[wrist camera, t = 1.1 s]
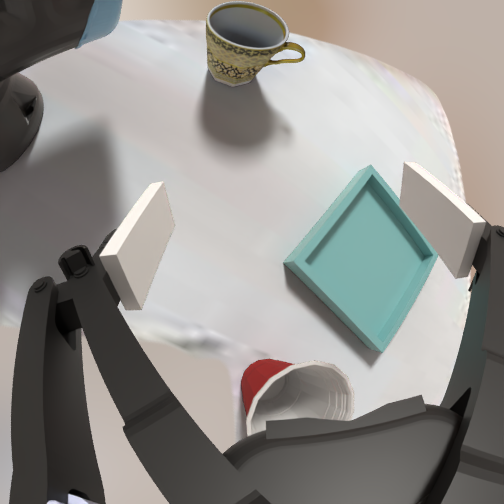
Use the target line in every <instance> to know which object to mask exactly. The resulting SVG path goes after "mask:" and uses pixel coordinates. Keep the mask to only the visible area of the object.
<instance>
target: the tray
mask: <svg viewBox="0 0 504 504" xmlns="http://www.w3.org/2000/svg"><path fill="white" fill-rule="evenodd" d="M399 203H400V200H399V198H398V197H397V196H396V194H395V193H394V192H393V191H392V189H391V188H390V187H389V186H388V184H387V183H386V182H385V181H384V180H383V178H382V177H381V176H380V175H379V174H378V172H377V171H376V170H375V169H374V168H373V167H372V165H369V166H367V167H365V168H364V169H362V170H360V171H359V172H358V173H357V174H356V175H355V177H354V178H353V179H352V180H351V182H350V183H349V184H348V185H347V187H346V188H345V189H344V190H343V191H342V193H341V194H340V195H339V196H338V198H337V199H336V200H335V201H334V203H333V204H332V205H331V206H330V207H329V209H328V210H327V211H326V212H325V214H324V215H323V216H322V217H321V218H320V220H319V221H318V222H317V223H316V224H315V226H314V227H313V228H312V229H311V230H310V232H309V233H308V234H307V235H306V236H305V238H304V239H303V240H302V241H301V242H300V244H299V245H298V246H297V247H296V248H295V249H294V251H293V252H292V253H291V254H290V255H289V257H288V258H287V259H286V260H285V261H284V262H283V263H284V264H285V265H286V266H287V267H288V268H289V269H290V270H291V271H292V272H293V273H294V274H295V275H296V276H297V277H298V278H299V279H300V280H301V281H302V282H303V283H304V284H305V285H306V286H307V287H308V288H309V289H310V290H312V291H313V292H314V293H315V294H316V295H317V296H318V297H319V298H320V299H321V300H322V301H323V302H324V303H325V304H326V305H327V306H328V307H329V308H330V309H331V310H332V311H333V312H334V313H335V314H336V315H337V316H338V317H339V318H340V319H341V320H342V322H343V323H344V324H345V325H346V326H347V327H348V328H349V329H350V330H351V331H352V332H353V333H354V334H355V335H356V336H357V337H358V338H359V339H360V340H361V341H362V342H363V343H364V344H365V345H366V346H367V347H368V348H369V349H371V350H375V351H378V352H381V353H383V352H384V350H385V349H386V347H387V346H388V344H389V343H390V341H391V340H392V338H393V336H394V335H395V333H396V332H397V330H398V329H399V327H400V325H401V324H402V322H403V320H404V319H405V317H406V315H407V314H408V312H409V310H410V309H411V307H412V305H413V303H414V302H415V300H416V298H417V296H418V294H419V293H420V291H421V289H422V287H423V285H424V283H425V281H426V279H427V277H428V276H429V274H430V272H431V270H432V268H433V266H434V264H435V261H436V259H437V257H438V254H437V252H436V251H435V250H434V248H433V247H432V246H431V244H430V243H429V242H428V241H427V239H426V238H425V237H424V235H423V234H422V233H421V232H420V230H419V229H418V228H417V227H416V225H415V224H414V223H413V222H412V221H411V219H410V218H409V217H408V216H407V215H406V213H405V212H404V211H403V210H402V209H401V208H400V206H399Z"/></svg>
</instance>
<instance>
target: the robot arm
mask: <svg viewBox="0 0 504 504" xmlns="http://www.w3.org/2000/svg"><path fill="white" fill-rule="evenodd" d="M121 8H122V0H0V172H2V171H3V170H5V169H6V168H8V167H9V166H10V165H12V164H13V163H14V162H15V161H16V160H17V159H18V158H19V157H20V156H21V155H22V153H23V152H24V151H25V150H26V148H27V147H28V146H29V144H30V143H31V141H32V139H33V138H34V136H35V134H36V132H37V130H38V127H39V125H40V122H41V119H42V114H43V98H42V95H41V93H40V91H39V90H38V88H37V86H36V85H35V83H34V82H33V81H32V80H30V79H29V78H27V77H25V76H23V75H22V74H20V73H18V72H20V71H22V70H24V69H26V68H28V67H30V66H32V65H34V64H36V63H38V62H41V61H43V60H45V59H47V58H50V57H52V56H54V55H57V54H59V53H62V52H64V51H67V50H69V49H72V48H75V49H78V48H80V47H81V46H82V45H83V44H86V43H88V42H91V41H94V40H97V39H99V38H102V37H105V36H107V35H108V34H110V33H111V32H112V31H113V30H114V29H115V27H116V25H117V24H118V21H119V18H120V14H121ZM399 206H400V208H401V209H402V210H403V211H404V212H405V213H406V215H407V216H408V217H409V218H410V219H411V221H412V222H413V223H414V224H415V225H416V227H417V228H418V229H419V230H420V232H421V233H422V234H423V235H424V237H425V238H426V239H427V241H428V242H429V243H430V244H431V246H432V247H433V248H434V250H435V251H436V252H437V254H438V255H439V256H440V258H441V259H442V260H443V262H444V263H445V265H446V266H447V267H448V269H449V270H450V272H451V273H452V274H453V276H454V277H455V279H457V278H463V277H468V275H469V272H470V270H471V267H472V265H473V266H474V268H475V269H476V270H477V271H476V273H475V276H474V278H473V281H472V283H471V285H470V288H469V290H468V291H471V289H472V292H471V298H470V304H469V309H468V314H467V319H466V324H465V328H464V332H463V336H462V341H461V344H460V348H459V352H458V356H457V359H456V363H455V366H454V369H453V372H452V376H451V379H450V382H449V385H448V388H447V390H446V393H445V396H444V398H443V401H442V403H441V404H440V406H436V405H429V404H424V401H423V398H422V395H419V396H415V397H412V398H408V399H404V400H400V401H396V402H392V403H388V404H386V405H384V406H382V407H380V408H378V409H376V410H374V411H372V412H370V413H368V414H365V415H363V416H361V417H359V418H357V419H354V420H351V421H342V420H329V419H318V418H309V417H305V418H296V419H284V420H270V421H266V430H264V431H261V432H257V433H255V434H252V435H250V436H248V437H246V438H244V439H242V440H240V441H239V442H237V443H236V444H234V445H233V446H231V447H230V448H229V449H228V450H227V451H225V452H224V453H223V454H222V453H221V452H220V451H219V450H218V449H217V448H216V447H215V445H214V444H212V442H211V441H210V440H209V438H208V437H207V436H206V435H205V434H204V433H203V431H202V430H201V429H200V428H199V427H198V425H197V424H196V423H195V422H194V420H193V419H192V418H191V416H190V415H189V414H188V413H187V411H186V410H185V409H184V408H183V406H182V405H181V404H180V402H179V401H178V400H177V398H176V397H175V396H174V394H173V393H172V392H171V391H170V389H169V388H168V386H167V385H166V384H165V382H164V381H163V379H162V378H161V376H160V375H159V373H158V372H157V370H156V369H155V367H154V366H153V364H152V363H151V361H150V360H149V359H148V357H147V355H146V354H145V352H144V351H143V349H142V348H141V346H140V344H139V343H138V341H137V340H136V338H135V336H134V335H133V333H132V331H131V330H130V328H129V326H128V325H127V323H126V321H125V319H124V318H123V316H122V314H121V312H120V311H119V309H118V307H117V306H118V304H119V302H120V300H121V302H122V304H123V306H124V308H125V310H142V308H143V305H144V303H145V300H146V297H147V294H148V292H149V289H150V286H151V284H152V281H153V279H154V276H155V273H156V271H157V268H158V266H159V263H160V261H161V258H162V256H163V253H164V251H165V249H166V246H167V244H168V241H169V239H170V237H171V234H172V232H173V230H174V227H175V223H174V219H173V215H172V212H171V208H170V204H169V200H168V197H167V193H166V189H165V185H164V181H163V182H157V183H152V184H150V185H149V187H148V188H147V189H146V190H145V192H144V193H143V194H142V196H141V197H140V198H139V200H138V201H137V202H136V204H135V205H134V206H133V208H132V209H131V210H130V212H129V213H128V215H127V216H126V217H125V219H124V220H123V222H122V223H121V224H120V226H119V227H118V229H115V230H113V231H112V232H111V233H110V234H109V235H107V237H106V238H105V240H104V241H103V244H101V245H100V247H99V249H98V250H97V251H96V253H95V254H94V256H93V257H92V256H91V254H90V252H89V250H88V248H87V247H86V246H85V245H79V246H75V247H73V248H70V249H69V250H67V251H66V252H65V253H64V254H63V255H62V256H61V257H60V259H59V261H58V264H59V266H60V268H61V269H62V271H63V273H64V275H65V277H66V279H67V282H64V283H61V284H58V285H56V284H55V282H54V280H53V279H52V278H51V277H43V278H41V279H38V280H37V281H36V282H34V283H33V285H32V286H31V288H30V289H29V292H28V295H27V300H26V304H25V308H24V313H23V317H22V322H21V328H20V334H19V339H18V345H17V352H16V359H15V367H14V377H13V388H12V406H11V442H12V443H11V444H12V461H13V475H12V482H11V490H10V500H9V504H106V503H105V496H104V489H103V485H102V480H101V475H100V471H99V468H98V463H97V459H96V454H95V450H94V445H93V440H92V434H91V429H90V423H89V416H88V410H87V403H86V395H85V385H84V375H83V362H82V345H81V328H83V331H84V334H85V336H86V339H87V341H88V344H89V347H90V349H91V351H92V354H93V356H94V359H95V361H96V364H97V366H98V368H99V371H100V373H101V375H102V378H103V380H104V382H105V384H106V386H107V388H108V390H109V393H110V395H111V397H112V398H113V401H114V403H115V405H116V407H117V409H118V411H119V413H120V414H121V416H122V418H123V420H124V422H125V426H124V427H123V431H124V433H125V435H126V437H127V439H128V441H129V443H130V445H131V446H132V448H133V450H134V451H135V453H136V455H137V456H138V458H139V460H140V461H141V463H142V464H143V466H144V468H145V469H146V471H147V472H148V474H149V475H150V477H151V478H152V480H153V481H154V483H155V484H156V485H157V487H158V488H159V490H160V491H161V493H162V494H163V495H164V497H165V498H166V499H167V501H168V502H169V504H504V227H501V226H491V225H490V224H489V223H488V222H487V221H486V220H485V219H484V218H483V217H482V216H480V215H479V213H477V212H476V211H475V210H474V209H473V208H472V207H471V206H470V205H469V204H467V203H466V202H464V201H463V200H462V199H461V198H460V197H458V196H457V195H456V194H455V193H454V192H453V191H451V190H450V189H449V188H448V187H447V186H445V185H444V184H443V183H442V182H440V181H439V180H438V179H437V178H435V177H434V176H433V175H432V174H430V173H429V172H428V171H426V170H425V169H424V168H422V167H421V166H420V165H418V164H417V163H416V162H404V167H403V178H402V187H401V196H400V203H399Z"/></svg>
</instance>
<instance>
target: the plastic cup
mask: <svg viewBox="0 0 504 504" xmlns="http://www.w3.org/2000/svg"><path fill="white" fill-rule="evenodd" d="M241 387H242V394H243V402H244V406H245V411H246V415H247V418H246V425H247V436H250V435H252V434H255V433H257V432H261V431H264V430H266V421H270V420H284V419H296V418H305V417H309V418H318V419H329V420H342V421H351V418H352V415H353V413H354V391H353V388H352V386H351V383H350V381H349V378H348V376H347V375H346V374H344V373H343V372H342V371H341V370H340V369H339V368H337V367H336V366H335V365H334V364H329V363H324V362H320V361H315V360H314V361H309V362H305V363H300V364H291V363H287V362H283V361H278V360H273V359H264V360H258V361H256V362H254V363H252V364H251V365H250V366H249V367H248V368H247V369H246V370H245V371H244V374H243V377H242V380H241Z"/></svg>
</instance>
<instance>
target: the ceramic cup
mask: <svg viewBox="0 0 504 504" xmlns="http://www.w3.org/2000/svg"><path fill="white" fill-rule="evenodd" d="M288 37H289V29H288V26H287V24H286V23H285V21H284V20H283V19H282V18H281V17H280V16H279V15H278V14H276V13H275V12H273V11H272V10H270V9H268V8H266V7H264V6H261V5H258V4H255V3H250V2H243V1H233V2H226V3H222V4H220V5H217V6H216V7H214V8H213V9H212V10H211V11H210V12H209V13H208V16H207V20H206V40H207V63H208V69H209V71H210V72H211V74H212V76H213V78H214V79H215V81H218V82H221V83H223V84H226V85H229V86H232V87H234V86H239V85H243V84H247V83H250V82H251V80H252V79H253V78H254V77H255V76H256V74H257V73H258V72H259V71H260V70H261V69H262V68H263V67H266V66H268V65H272V64H280V63H297V62H301V61H302V60H303V59H304V58H305V51H304V49H303V48H302V47H301V46H300V45H298V44H296V43H292V42H286V41H287V39H288ZM285 49H289V50H295V51H298V52H300V53H301V54H302V57H301V58H299V59H282V60H278V61H273V60H270V59H271V57H272V56H274V55H275V54H276V53H278V52H281V51H283V50H285Z"/></svg>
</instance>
